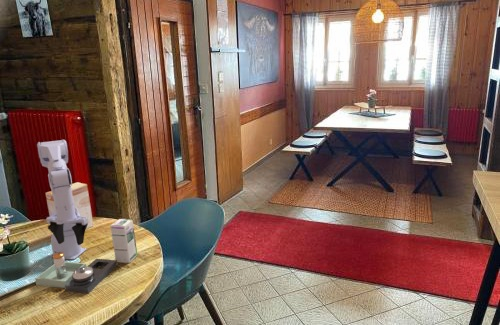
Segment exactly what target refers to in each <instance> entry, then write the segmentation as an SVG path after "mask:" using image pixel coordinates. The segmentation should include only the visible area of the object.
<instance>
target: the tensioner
mask: <svg viewBox="0 0 500 325" xmlns="http://www.w3.org/2000/svg"><path fill="white" fill-rule="evenodd" d="M116 267H118V262H117V260H116V259H105V258H95V259H94V260H93V261H92V262H90V263H89V264H88V265H86V267H81V268H78V269H76V270H75V271H73V273H72V280H71V281H70V282H68V283H67V284H66V285H65V288H64V290H65V292H67V293H80V294H90V293H91V292H92V291H93V290H94V289H95V288H96V287H97V286H98V285H99V284H100V283H101V282H102V281H103V280H104V279H105V278H106V277H107V276H108V275H109V274H110V273H111V272H112V271H113V270H114V269H115V268H116Z"/></svg>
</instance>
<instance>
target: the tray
mask: <svg viewBox="0 0 500 325" xmlns="http://www.w3.org/2000/svg"><path fill="white" fill-rule="evenodd" d="M65 264H66V269H67V276H66V277H65V278H61V279H58V278H57V275H56V270H55V265H54V264H52V265H51V266H50V267H48V268H46V270H44V271H43V272H41V273H40V274H39V275H37V276H36V277H35V278H34V281H35V285H36V286H42V287H50V288H51V287H52V288H61V289H65V285H66V284H67V283H68V282H70V281H71V280H72V273H73V271H75V270H76V269H78V268H81V267H87V264H86V263H83V262H74V261H73V262H71V261H65Z"/></svg>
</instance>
